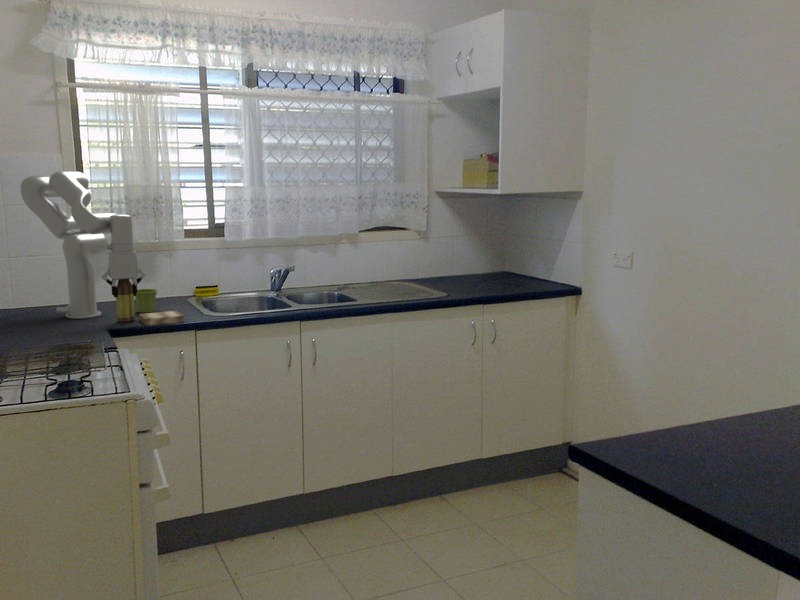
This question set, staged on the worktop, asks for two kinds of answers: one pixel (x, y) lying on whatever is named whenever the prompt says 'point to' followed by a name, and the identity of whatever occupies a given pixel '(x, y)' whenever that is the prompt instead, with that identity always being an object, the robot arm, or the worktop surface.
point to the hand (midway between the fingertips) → (124, 295)
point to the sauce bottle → (125, 301)
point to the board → (161, 318)
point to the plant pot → (146, 300)
